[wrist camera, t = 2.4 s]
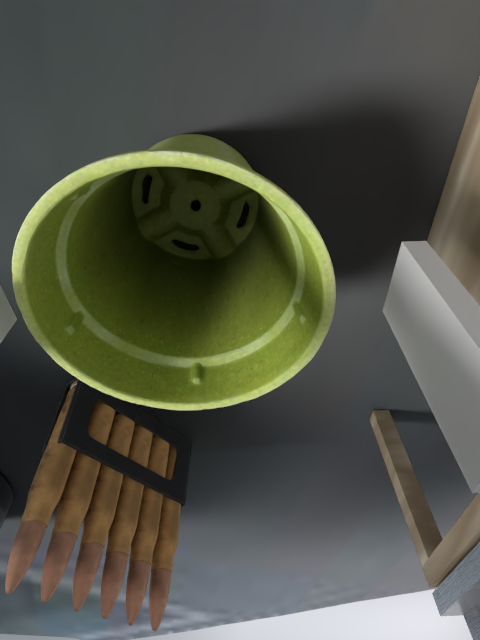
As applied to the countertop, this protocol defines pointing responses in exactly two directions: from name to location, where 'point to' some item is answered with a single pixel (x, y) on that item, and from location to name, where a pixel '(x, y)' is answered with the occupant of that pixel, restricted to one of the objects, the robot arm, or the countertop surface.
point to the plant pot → (174, 277)
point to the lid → (462, 592)
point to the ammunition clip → (105, 501)
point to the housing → (476, 276)
